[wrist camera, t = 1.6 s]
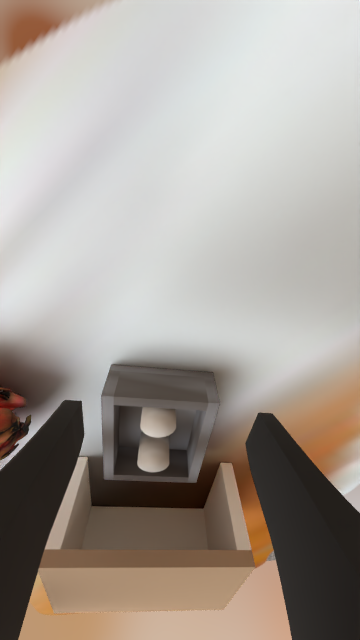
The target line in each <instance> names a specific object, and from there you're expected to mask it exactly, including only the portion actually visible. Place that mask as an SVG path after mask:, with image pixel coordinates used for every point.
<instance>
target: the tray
mask: <svg viewBox="0 0 360 640" xmlns="http://www.w3.org/2000/svg"><path fill="white" fill-rule="evenodd" d="M219 405H220V401H219V397H218V393H217V388H216V384H215V380H214V375H213V372H202V371H188V370H175V369H162V368H149V367H136V366H123V365H111V367H110V370H109V373H108V376H107V379H106V382H105V385H104V389H103V392H102V395H101V406H102V436H103V467H104V480H126V481H156V482H185V483H196V482H197V478H198V475H199V472H200V468H201V465H202V462H203V458H204V455H205V452H206V448H207V445H208V442H209V438H210V435H211V432H212V428H213V425H214V422H215V419H216V415H217V412H218V409H219Z"/></svg>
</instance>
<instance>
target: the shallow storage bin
mask: <svg viewBox="0 0 360 640" xmlns="http://www.w3.org/2000/svg"><path fill="white" fill-rule="evenodd" d="M254 568H255V563H254V559H253V554H252V550H251V546H250V541H249V537H248V532H247V528H246V524H245V519H244V515H243V510H242V506H241V501H240V497H239V493H238V488H237V484H236V479H235V475H234V471H233V466H232V463H220V466H219V469H218V471H217V474H216V477H215V479H214V482H213V485H212V487H211V490H210V493H209V496H208V498H207V501H206V504H205V506H204V509H194V508H147V507H101V506H91V494H90V481H89V467H88V457H78V460H77V464H76V466H75V469H74V472H73V474H72V477H71V480H70V482H69V485H68V488H67V490H66V493H65V495H64V498H63V501H62V503H61V506H60V508H59V511H58V514H57V516H56V519H55V521H54V524H53V527H52V529H51V532H50V535H49V538H48V541H47V543H46V546H45V549H44V553H43V556H42V559H41V563H40V566H39V569H38V572H39V575H40V578H41V580H42V583H43V585H44V588H45V591H46V593H47V596H48V598H49V601H50V604H51V606H52V609H53V611H54V613H95V612H138V611H139V612H140V611H185V610H223V609H224V608H225V607H226V606H227V604H228V603H229V602H230V600H231V599H232V598H233V596H234V595H235V594H236V592H237V591H238V590H239V588H240V587H241V586H242V584H243V583H244V582H245V580H246V579H247V577H248V576H249V575H250V574H251V572H252V571H253V570H254Z"/></svg>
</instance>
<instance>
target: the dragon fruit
mask: <svg viewBox="0 0 360 640" xmlns="http://www.w3.org/2000/svg"><path fill="white" fill-rule="evenodd" d="M0 390H3V391H2V392H0V394H1V395H0V460H2V459H4V458H6V457H7V456H8V455H9V454H11V453H12V452H13V451H14V450H15V449H16V447H17V446H18V445H19V444H17V445H15V444H16V442H17V441H18V440H20V439H22V438H23V437H25V436H26V435H27V434H28V431H29V426H30V423H31V415H29V416H28V417H27V418H26V421H25V423H23V422H20V418H19V417H17V416H16V415H15V414H14V413H13V412H12V411H13V410H14V409H15V408H21V407H22V408H23V407H25V406H26V399H25V398H24V397H22V396H19V394H18V395H16V394H14V393H13V391H12V390H11V389H8V388H3V387H0ZM4 395H5V396H4ZM6 396H9V399H8V398H7V397H6ZM15 413H16V412H15ZM14 445H15V446H14ZM11 451H12V452H11Z"/></svg>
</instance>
